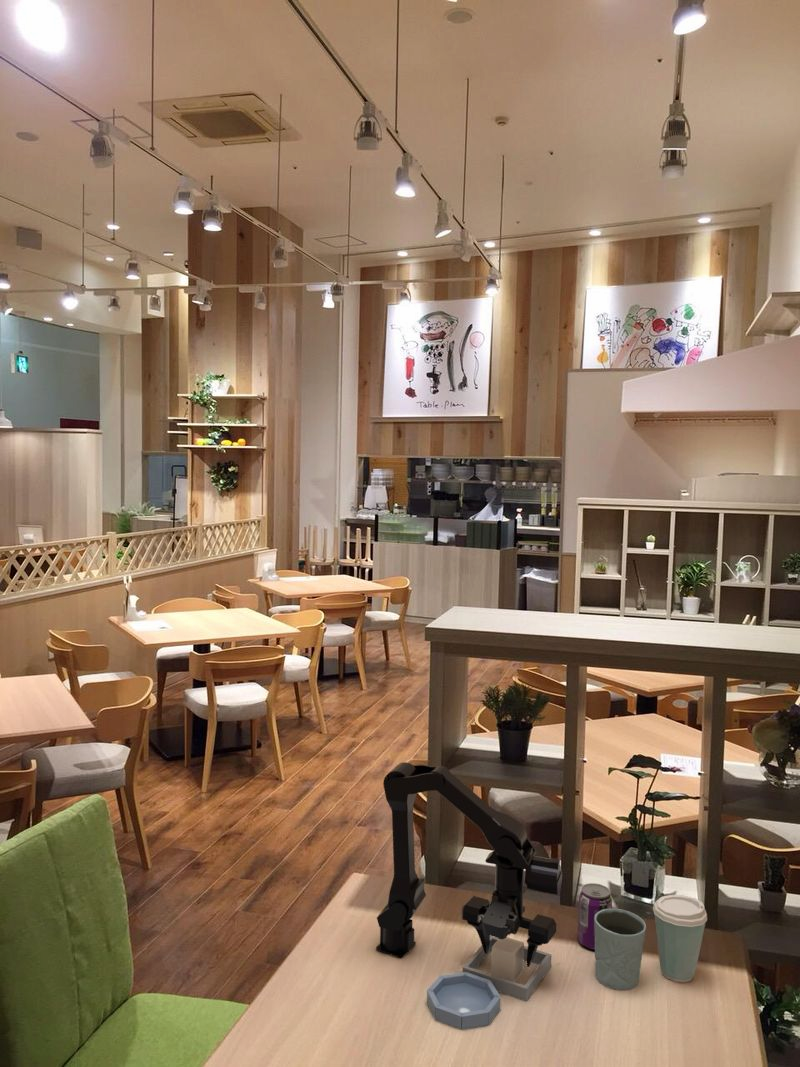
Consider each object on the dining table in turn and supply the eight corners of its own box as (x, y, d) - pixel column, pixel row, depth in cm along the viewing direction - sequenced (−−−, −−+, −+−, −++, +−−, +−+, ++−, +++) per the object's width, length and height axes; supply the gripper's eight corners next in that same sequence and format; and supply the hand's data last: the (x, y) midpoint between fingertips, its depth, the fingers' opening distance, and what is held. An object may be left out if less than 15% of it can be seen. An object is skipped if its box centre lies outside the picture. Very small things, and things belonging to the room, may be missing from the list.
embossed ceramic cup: (591, 961, 176) (593, 905, 176) (641, 966, 174) (643, 911, 174) (593, 989, 166) (595, 931, 166) (646, 996, 165) (648, 937, 164)
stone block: (491, 975, 171) (491, 947, 170) (500, 963, 175) (501, 935, 175) (514, 983, 168) (514, 954, 168) (523, 970, 173) (524, 942, 172)
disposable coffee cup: (646, 980, 170) (649, 908, 169) (654, 953, 179) (657, 885, 178) (701, 994, 165) (704, 921, 164) (707, 966, 175) (710, 896, 174)
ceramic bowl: (417, 1013, 158) (417, 1000, 158) (448, 978, 169) (448, 966, 169) (480, 1036, 152) (480, 1023, 152) (508, 998, 163) (508, 986, 163)
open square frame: (462, 979, 169) (462, 967, 169) (489, 946, 181) (490, 935, 181) (526, 1001, 162) (527, 989, 162) (551, 966, 174) (551, 954, 174)
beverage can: (611, 954, 179) (613, 899, 178) (577, 950, 180) (579, 896, 179) (610, 936, 186) (611, 884, 185) (577, 932, 187) (578, 880, 186)
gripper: (450, 890, 168) (448, 965, 169) (538, 915, 159) (536, 994, 160) (473, 868, 178) (472, 939, 179) (558, 890, 168) (556, 965, 170)
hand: (507, 959), depth 171 cm, fingers open, 9 cm apart
